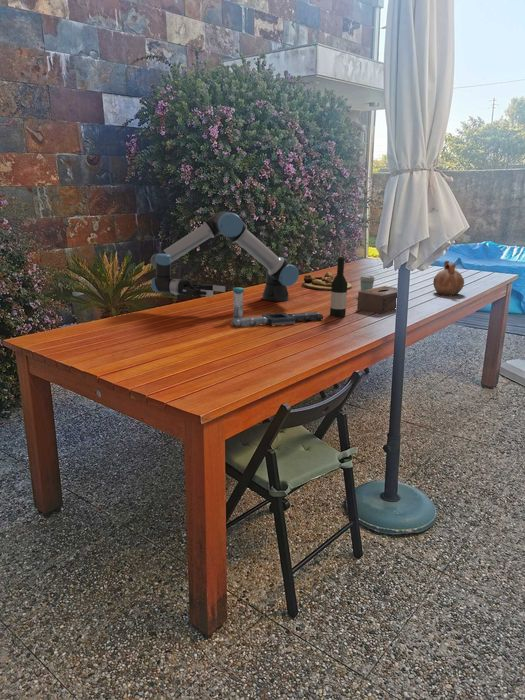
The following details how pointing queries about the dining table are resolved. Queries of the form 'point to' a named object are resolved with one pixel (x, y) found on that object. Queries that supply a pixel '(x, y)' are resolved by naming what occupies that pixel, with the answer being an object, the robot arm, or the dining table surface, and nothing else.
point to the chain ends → (276, 319)
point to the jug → (448, 280)
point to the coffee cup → (366, 282)
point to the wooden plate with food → (320, 282)
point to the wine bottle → (339, 291)
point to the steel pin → (238, 302)
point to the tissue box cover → (377, 299)
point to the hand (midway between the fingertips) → (219, 291)
